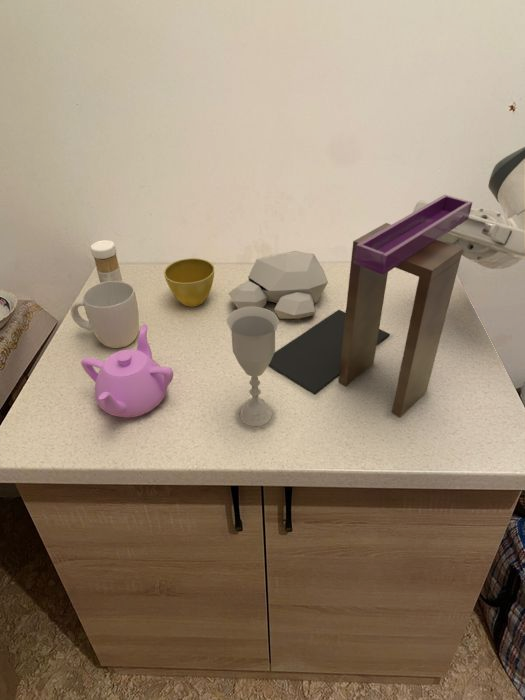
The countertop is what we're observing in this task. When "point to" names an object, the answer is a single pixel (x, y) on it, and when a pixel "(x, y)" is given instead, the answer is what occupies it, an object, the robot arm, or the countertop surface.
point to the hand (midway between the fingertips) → (458, 219)
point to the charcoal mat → (315, 354)
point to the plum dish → (411, 234)
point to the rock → (283, 284)
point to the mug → (110, 313)
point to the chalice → (253, 355)
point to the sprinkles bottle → (106, 261)
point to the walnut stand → (425, 324)
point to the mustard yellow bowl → (190, 280)
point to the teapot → (129, 380)
